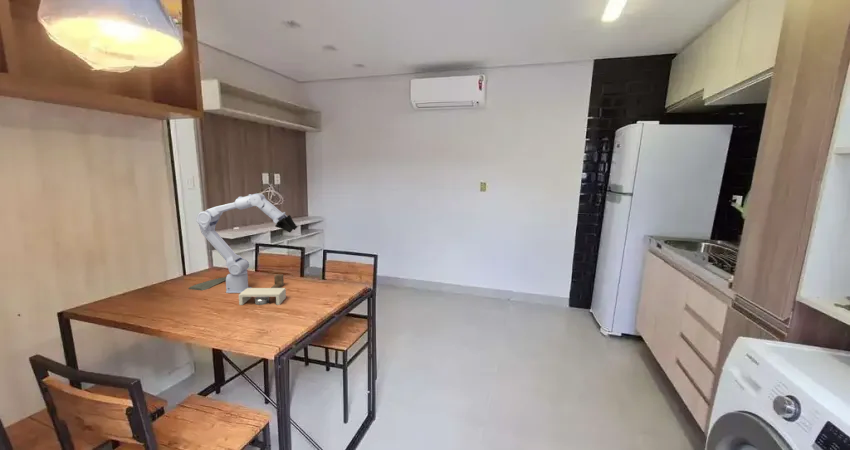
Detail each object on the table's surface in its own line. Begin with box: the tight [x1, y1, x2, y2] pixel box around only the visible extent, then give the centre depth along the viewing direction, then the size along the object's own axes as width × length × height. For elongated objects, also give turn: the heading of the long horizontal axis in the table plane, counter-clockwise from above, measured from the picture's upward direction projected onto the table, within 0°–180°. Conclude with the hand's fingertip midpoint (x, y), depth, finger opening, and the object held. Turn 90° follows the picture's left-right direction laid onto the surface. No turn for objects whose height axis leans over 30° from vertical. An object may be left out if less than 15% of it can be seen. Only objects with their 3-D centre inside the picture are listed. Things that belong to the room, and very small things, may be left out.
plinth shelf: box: [238, 287, 287, 306], centre depth 163 cm, size 18×9×5 cm, turn 94°
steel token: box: [254, 297, 270, 306], centre depth 162 cm, size 6×6×2 cm
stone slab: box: [188, 276, 227, 291], centre depth 187 cm, size 22×3×10 cm
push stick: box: [270, 273, 285, 288], centre depth 178 cm, size 4×17×6 cm, turn 4°
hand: (293, 229), depth 174 cm, fingers open, 7 cm apart
